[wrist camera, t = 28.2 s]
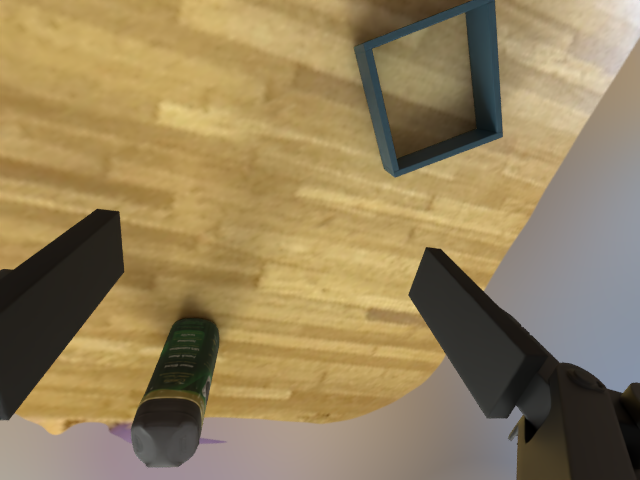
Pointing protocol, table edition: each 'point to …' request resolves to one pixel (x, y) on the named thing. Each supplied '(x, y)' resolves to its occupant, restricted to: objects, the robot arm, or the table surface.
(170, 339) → the coffee jar
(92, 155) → the table surface
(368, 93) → the frame
